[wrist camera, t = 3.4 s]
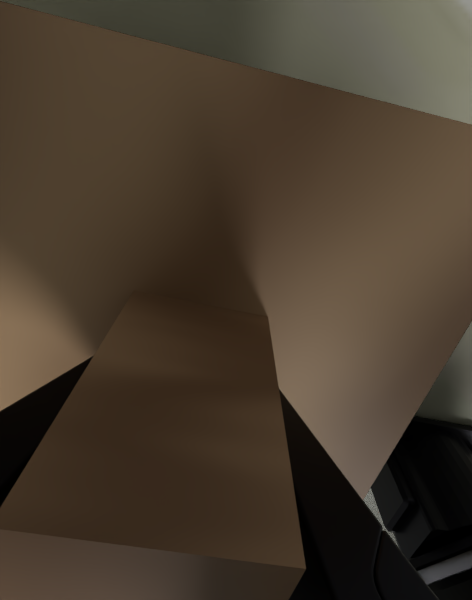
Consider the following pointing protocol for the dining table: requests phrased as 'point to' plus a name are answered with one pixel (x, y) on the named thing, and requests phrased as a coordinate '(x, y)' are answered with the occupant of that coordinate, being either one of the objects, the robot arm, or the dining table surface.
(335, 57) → the dining table surface
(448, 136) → the lid
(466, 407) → the dining table surface
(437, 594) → the robot arm
